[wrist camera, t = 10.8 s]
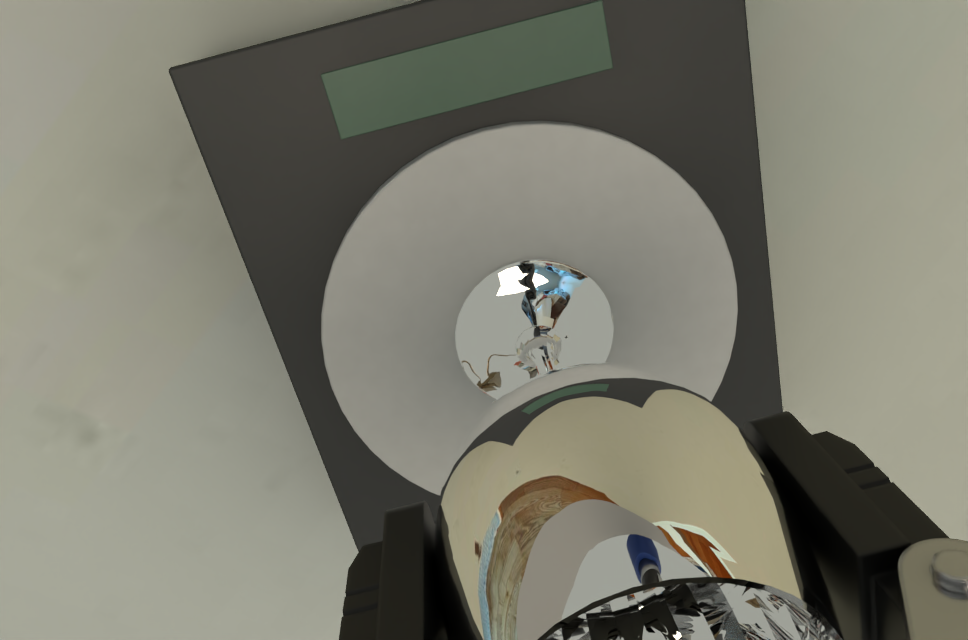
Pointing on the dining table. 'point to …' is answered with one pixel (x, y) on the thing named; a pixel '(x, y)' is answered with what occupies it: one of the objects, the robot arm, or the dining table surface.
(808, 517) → the robot arm
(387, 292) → the scale
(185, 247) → the dining table surface
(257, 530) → the dining table surface
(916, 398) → the dining table surface
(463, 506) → the wineglass
